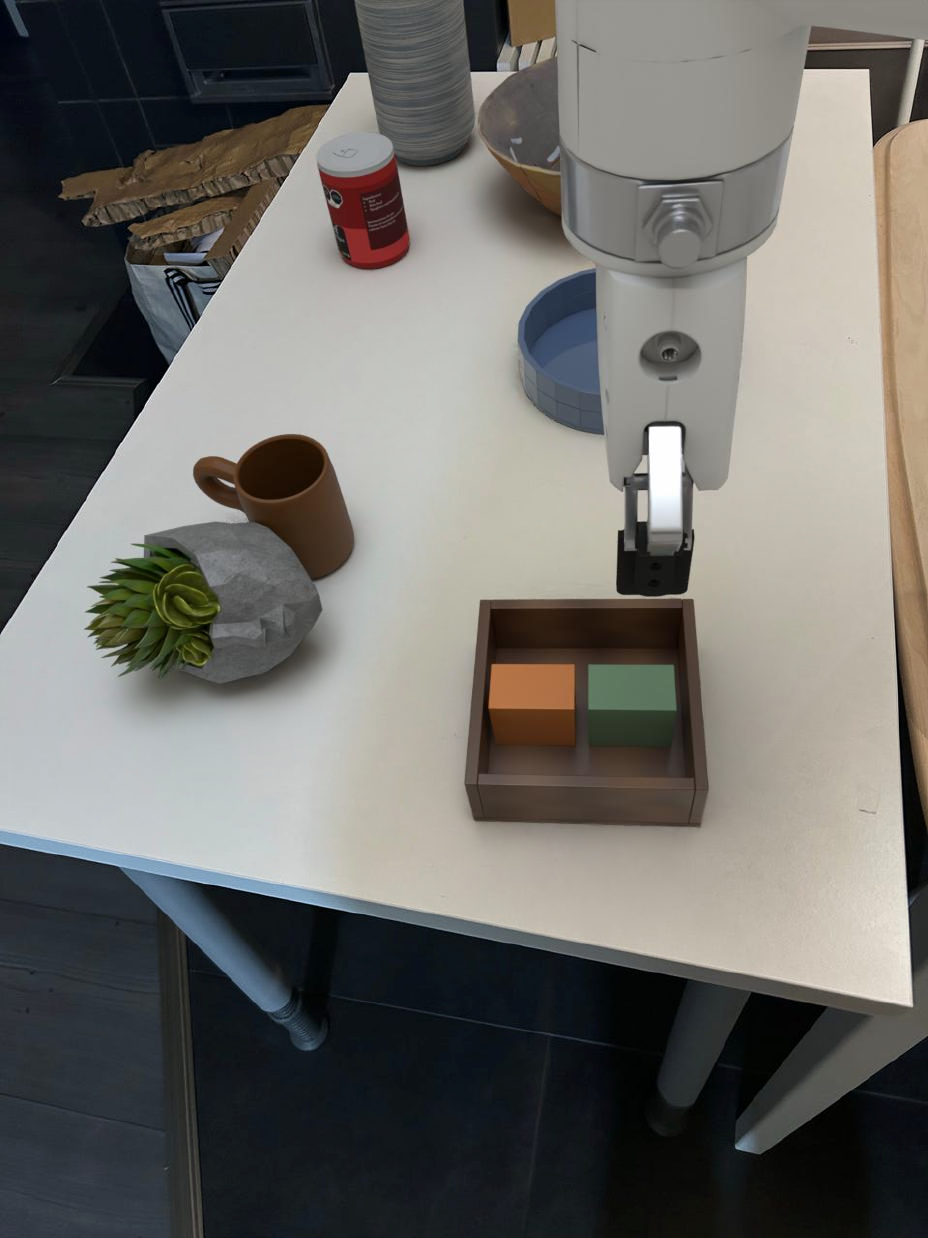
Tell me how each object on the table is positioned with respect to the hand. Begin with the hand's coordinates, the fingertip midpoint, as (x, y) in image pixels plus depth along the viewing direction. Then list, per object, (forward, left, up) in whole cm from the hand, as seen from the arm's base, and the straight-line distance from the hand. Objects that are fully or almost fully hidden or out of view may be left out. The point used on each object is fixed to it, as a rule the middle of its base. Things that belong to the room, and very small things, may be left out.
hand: (647, 511), depth 45 cm
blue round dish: (0, -38, -22) cm, 44 cm away
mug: (+28, -17, -22) cm, 40 cm away
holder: (+3, 0, -22) cm, 23 cm away
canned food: (+26, -59, -22) cm, 68 cm away
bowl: (+2, -67, -22) cm, 71 cm away
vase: (+22, -80, -22) cm, 86 cm away
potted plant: (+30, -6, -22) cm, 38 cm away
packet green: (0, 0, -22) cm, 22 cm away
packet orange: (+7, 0, -22) cm, 23 cm away
